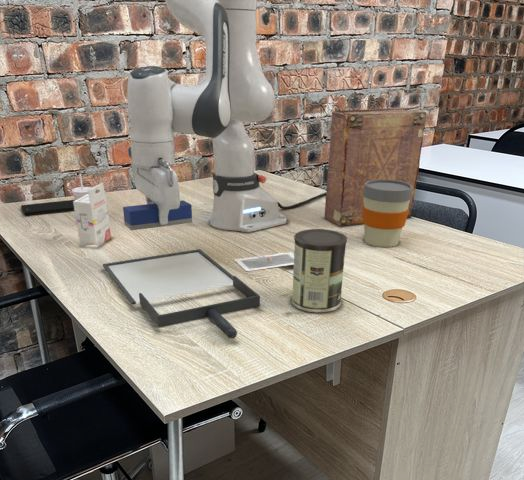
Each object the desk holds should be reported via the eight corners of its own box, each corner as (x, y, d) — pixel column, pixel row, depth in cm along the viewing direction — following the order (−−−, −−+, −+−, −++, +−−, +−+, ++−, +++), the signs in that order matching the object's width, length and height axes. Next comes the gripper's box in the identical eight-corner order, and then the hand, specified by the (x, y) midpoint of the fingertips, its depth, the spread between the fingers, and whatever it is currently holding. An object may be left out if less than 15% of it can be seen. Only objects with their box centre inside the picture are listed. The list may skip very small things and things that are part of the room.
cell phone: (87, 208, 171) (86, 205, 171) (25, 215, 164) (24, 212, 163) (81, 201, 178) (80, 198, 178) (21, 208, 171) (20, 205, 170)
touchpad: (305, 267, 132) (305, 258, 131) (246, 275, 127) (246, 266, 126) (290, 256, 139) (291, 247, 138) (234, 264, 133) (234, 255, 132)
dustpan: (140, 308, 112) (138, 293, 110) (235, 290, 120) (234, 275, 119) (178, 358, 95) (177, 340, 94) (284, 332, 104) (285, 316, 102)
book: (393, 209, 177) (407, 107, 162) (411, 217, 170) (427, 111, 155) (323, 218, 168) (332, 110, 153) (339, 227, 161) (350, 114, 146)
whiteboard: (200, 255, 139) (199, 248, 138) (240, 288, 121) (240, 281, 120) (103, 270, 129) (102, 263, 128) (132, 309, 111) (131, 302, 110)
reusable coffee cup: (413, 241, 151) (422, 185, 143) (388, 252, 143) (397, 193, 135) (374, 231, 158) (381, 177, 151) (348, 241, 150) (354, 184, 142)
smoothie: (71, 225, 157) (64, 174, 150) (86, 219, 163) (79, 169, 156) (90, 228, 155) (83, 176, 148) (104, 222, 161) (98, 172, 154)
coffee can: (329, 290, 122) (334, 226, 114) (348, 310, 113) (355, 243, 106) (284, 294, 119) (287, 230, 112) (300, 315, 110) (305, 247, 103)
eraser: (184, 217, 128) (183, 200, 126) (192, 222, 124) (191, 204, 123) (124, 225, 122) (122, 206, 120) (131, 230, 118) (129, 211, 117)
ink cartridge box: (94, 236, 149) (86, 180, 142) (111, 238, 149) (105, 182, 141) (79, 247, 142) (70, 188, 135) (97, 248, 141) (89, 190, 134)
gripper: (186, 162, 109) (189, 231, 116) (152, 145, 125) (157, 206, 132) (155, 165, 107) (160, 235, 114) (124, 147, 122) (130, 209, 129)
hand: (158, 219), depth 123 cm, fingers closed on eraser, 5 cm apart
